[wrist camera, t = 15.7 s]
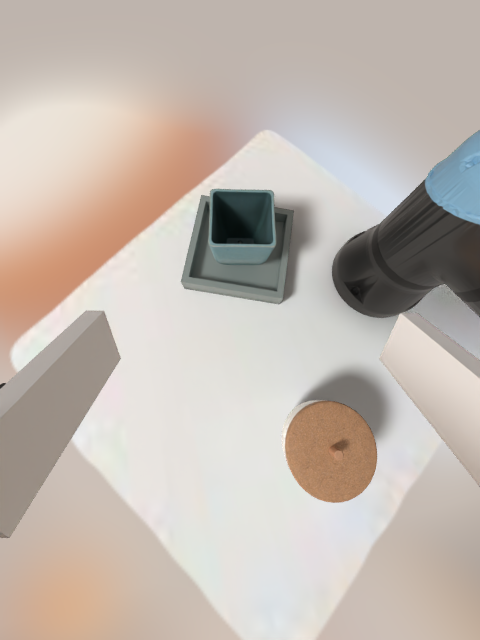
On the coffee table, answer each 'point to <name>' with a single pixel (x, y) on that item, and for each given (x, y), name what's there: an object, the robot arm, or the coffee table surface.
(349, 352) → the coffee table surface
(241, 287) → the tray
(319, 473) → the lidded jar
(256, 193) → the flower pot
